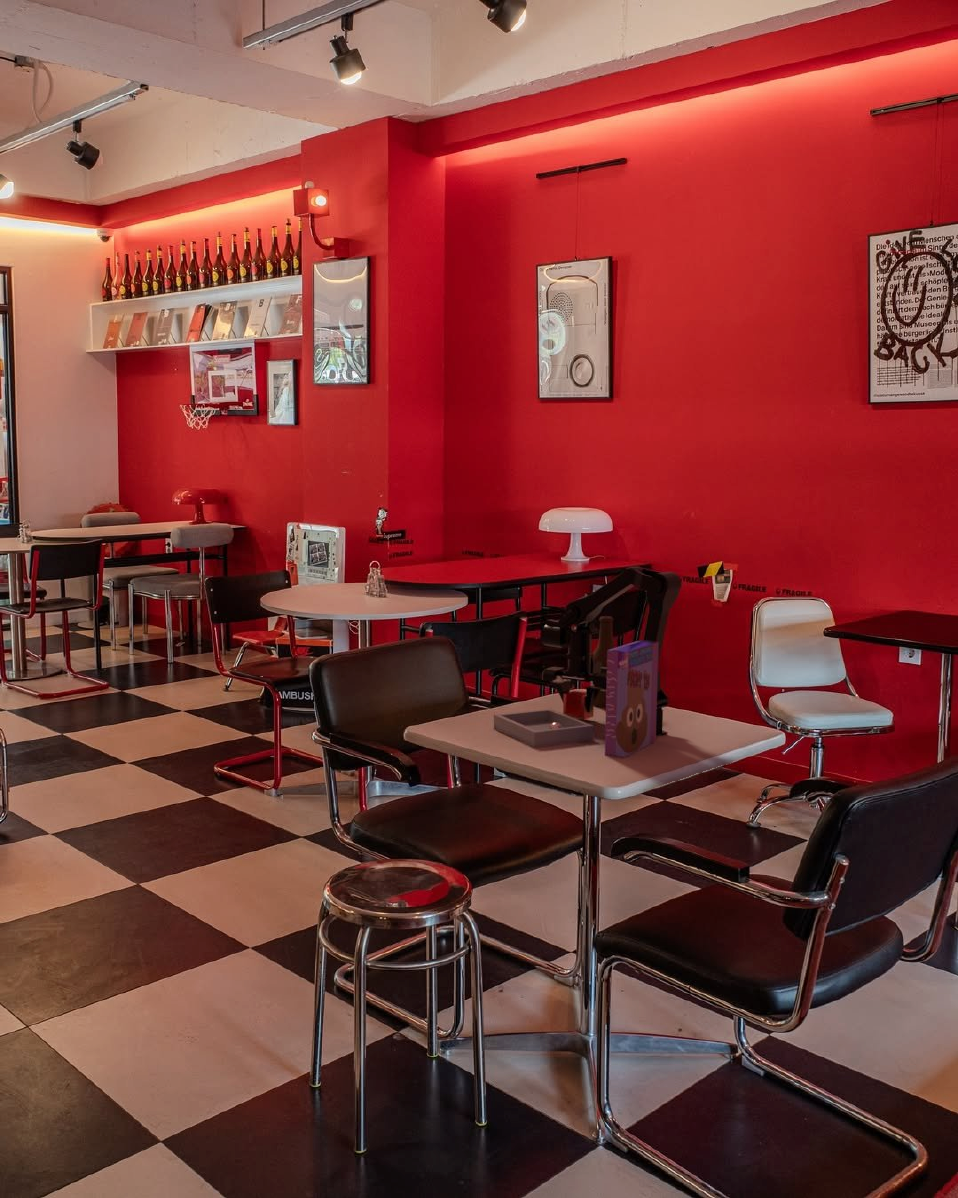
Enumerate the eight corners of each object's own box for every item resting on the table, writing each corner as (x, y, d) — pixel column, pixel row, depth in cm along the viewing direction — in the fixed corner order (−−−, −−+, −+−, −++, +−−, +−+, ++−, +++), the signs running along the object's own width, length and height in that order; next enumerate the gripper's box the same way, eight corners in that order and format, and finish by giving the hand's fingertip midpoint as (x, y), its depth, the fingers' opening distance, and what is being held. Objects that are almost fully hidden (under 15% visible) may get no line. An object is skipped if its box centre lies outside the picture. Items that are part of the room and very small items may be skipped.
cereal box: (624, 758, 249) (627, 651, 246) (604, 755, 252) (607, 649, 249) (655, 742, 264) (658, 641, 261) (636, 739, 266) (639, 639, 263)
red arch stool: (593, 716, 286) (593, 693, 285) (584, 720, 281) (584, 696, 281) (572, 713, 289) (573, 690, 288) (563, 717, 285) (563, 693, 284)
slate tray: (593, 740, 265) (593, 725, 265) (534, 747, 258) (534, 732, 257) (550, 722, 283) (550, 708, 282) (493, 728, 276) (494, 714, 275)
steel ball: (555, 730, 264) (561, 720, 265) (545, 728, 266) (551, 718, 267) (560, 738, 266) (566, 728, 267) (550, 736, 268) (555, 726, 269)
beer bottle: (618, 702, 308) (620, 615, 305) (619, 708, 300) (621, 619, 297) (589, 701, 308) (591, 614, 305) (589, 707, 301) (591, 618, 298)
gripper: (627, 649, 285) (625, 709, 287) (562, 642, 295) (561, 700, 297) (607, 655, 275) (606, 717, 277) (541, 648, 286) (540, 708, 287)
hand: (578, 710), depth 285 cm, fingers closed on red arch stool, 6 cm apart
